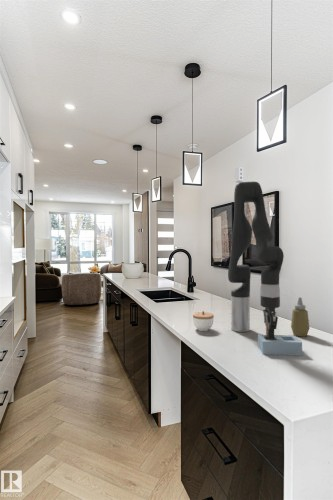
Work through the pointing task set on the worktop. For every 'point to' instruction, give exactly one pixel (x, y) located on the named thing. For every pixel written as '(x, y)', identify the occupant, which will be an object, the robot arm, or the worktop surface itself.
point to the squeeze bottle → (300, 319)
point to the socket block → (280, 345)
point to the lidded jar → (203, 320)
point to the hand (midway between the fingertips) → (270, 336)
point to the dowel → (267, 331)
